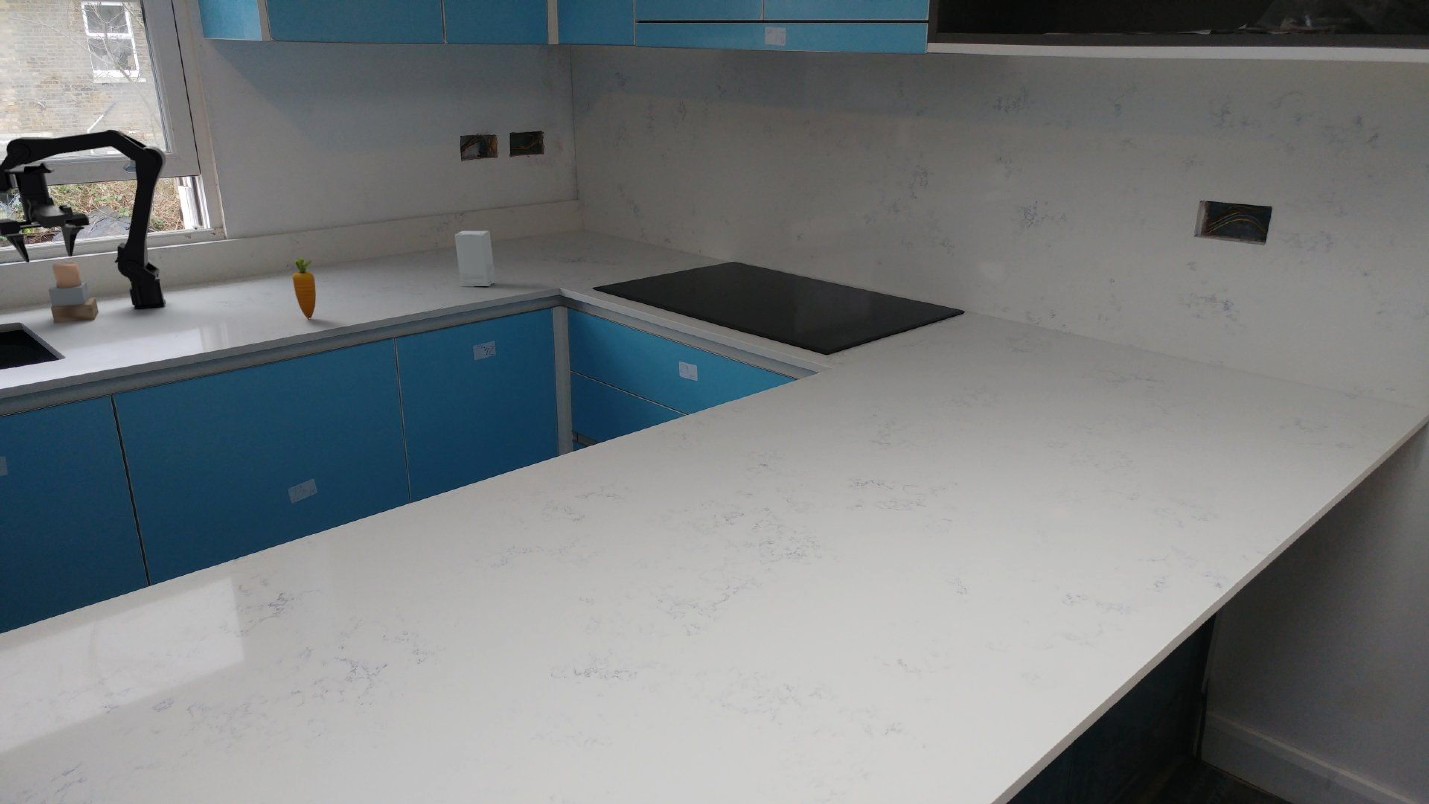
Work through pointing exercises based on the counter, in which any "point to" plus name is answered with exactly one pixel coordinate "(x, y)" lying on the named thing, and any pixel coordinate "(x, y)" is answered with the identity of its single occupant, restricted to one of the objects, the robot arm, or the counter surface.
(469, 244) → the skincare box
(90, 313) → the walnut slab
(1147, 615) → the counter surface
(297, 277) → the carrot
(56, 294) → the slate slab
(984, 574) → the counter surface
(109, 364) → the counter surface
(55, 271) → the terracotta cylinder
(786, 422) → the counter surface
